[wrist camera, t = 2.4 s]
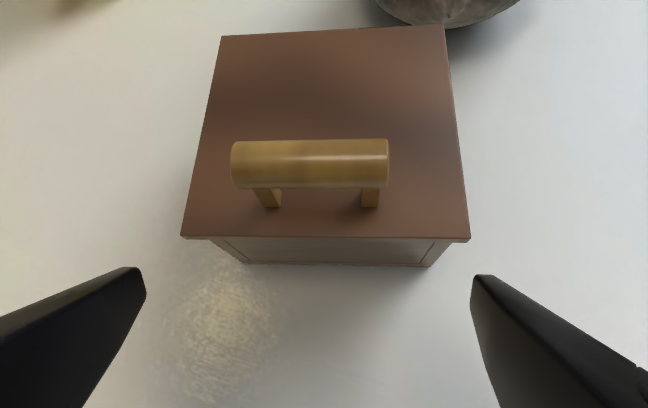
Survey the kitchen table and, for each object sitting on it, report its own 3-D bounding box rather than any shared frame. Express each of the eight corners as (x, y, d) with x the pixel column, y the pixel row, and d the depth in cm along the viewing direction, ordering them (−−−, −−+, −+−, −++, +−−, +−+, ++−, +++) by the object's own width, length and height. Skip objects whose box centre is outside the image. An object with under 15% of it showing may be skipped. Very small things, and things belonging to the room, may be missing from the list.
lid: (467, 243, 13) (513, 199, 9) (186, 239, 15) (118, 199, 11) (441, 33, 18) (465, -61, 14) (225, 44, 19) (187, -39, 15)
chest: (430, 267, 20) (465, 228, 14) (242, 263, 22) (189, 226, 15) (419, 119, 24) (441, 34, 18) (260, 123, 26) (225, 45, 19)
